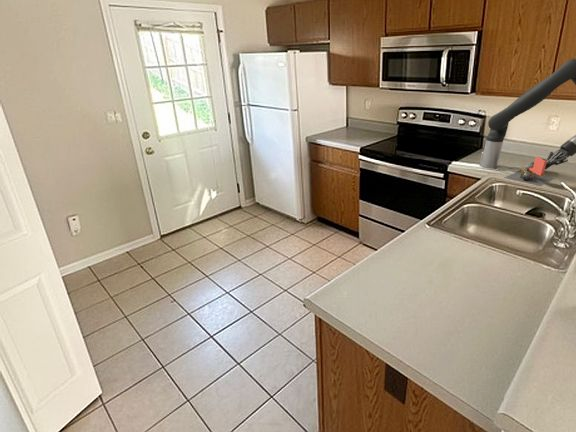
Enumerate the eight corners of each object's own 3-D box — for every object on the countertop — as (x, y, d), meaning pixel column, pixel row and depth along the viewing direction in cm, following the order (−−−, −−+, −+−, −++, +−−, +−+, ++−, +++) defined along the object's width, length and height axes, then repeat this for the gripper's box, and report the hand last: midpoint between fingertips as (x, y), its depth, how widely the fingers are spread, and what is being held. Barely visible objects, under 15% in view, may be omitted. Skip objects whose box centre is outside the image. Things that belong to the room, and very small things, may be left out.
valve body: (519, 180, 206) (521, 171, 204) (520, 173, 218) (522, 165, 216) (532, 182, 203) (535, 173, 201) (532, 174, 215) (535, 166, 213)
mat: (503, 179, 211) (503, 177, 210) (518, 172, 223) (519, 171, 222) (540, 187, 197) (540, 186, 197) (554, 179, 209) (555, 178, 209)
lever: (523, 167, 210) (526, 153, 207) (530, 167, 210) (534, 154, 207) (537, 176, 196) (541, 161, 193) (545, 176, 196) (549, 161, 192)
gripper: (562, 137, 196) (532, 160, 201) (578, 142, 184) (547, 166, 189) (569, 147, 198) (540, 169, 203) (586, 153, 185) (555, 176, 191)
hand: (543, 168), depth 196 cm, fingers closed
